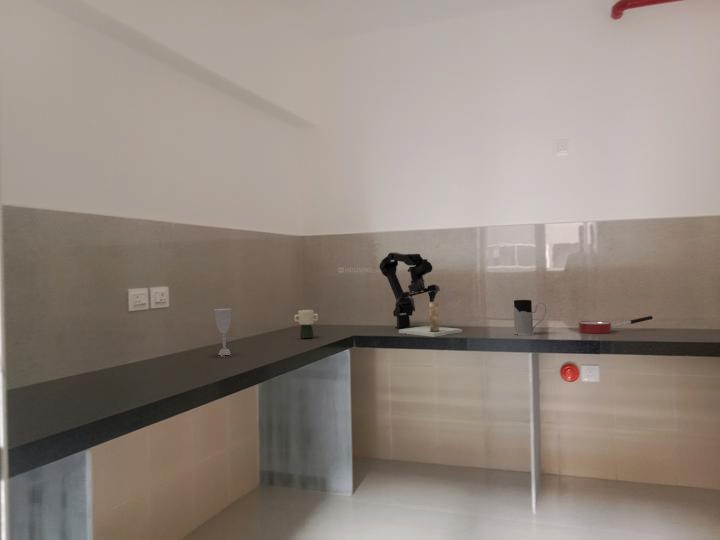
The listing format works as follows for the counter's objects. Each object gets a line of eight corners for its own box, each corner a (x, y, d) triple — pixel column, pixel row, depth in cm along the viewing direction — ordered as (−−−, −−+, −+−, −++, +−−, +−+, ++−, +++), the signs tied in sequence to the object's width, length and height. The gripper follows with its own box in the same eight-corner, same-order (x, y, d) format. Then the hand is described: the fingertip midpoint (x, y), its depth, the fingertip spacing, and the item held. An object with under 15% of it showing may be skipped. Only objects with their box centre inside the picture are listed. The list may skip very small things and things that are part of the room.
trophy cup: (318, 336, 252) (317, 309, 252) (319, 338, 245) (318, 310, 245) (294, 337, 251) (293, 310, 251) (295, 340, 244) (294, 311, 244)
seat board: (399, 332, 256) (398, 329, 256) (426, 328, 267) (426, 325, 267) (433, 336, 238) (433, 333, 238) (462, 332, 249) (461, 329, 249)
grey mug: (512, 332, 241) (511, 299, 241) (545, 332, 238) (544, 299, 238) (514, 335, 233) (513, 301, 232) (548, 335, 230) (547, 300, 230)
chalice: (217, 354, 211) (215, 308, 211) (234, 353, 212) (233, 308, 212) (214, 357, 204) (212, 310, 204) (232, 356, 205) (230, 309, 204)
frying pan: (639, 327, 244) (638, 313, 244) (658, 331, 231) (657, 316, 231) (573, 331, 240) (572, 317, 240) (589, 334, 227) (588, 320, 227)
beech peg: (428, 335, 244) (427, 302, 244) (432, 333, 247) (431, 301, 247) (437, 335, 242) (435, 302, 242) (440, 334, 245) (439, 301, 245)
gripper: (393, 281, 258) (398, 312, 254) (428, 271, 250) (434, 303, 246) (402, 283, 268) (408, 313, 264) (437, 274, 259) (443, 305, 256)
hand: (423, 309), depth 257 cm, fingers open, 9 cm apart
